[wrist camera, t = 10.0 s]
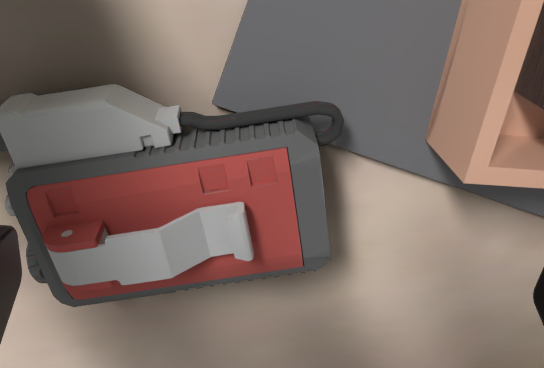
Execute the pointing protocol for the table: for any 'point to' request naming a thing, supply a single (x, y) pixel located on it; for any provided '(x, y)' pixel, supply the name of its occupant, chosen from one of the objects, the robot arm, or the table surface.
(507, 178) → the open box
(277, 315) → the table surface
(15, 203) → the grey red device
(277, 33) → the mat
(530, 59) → the grey block
